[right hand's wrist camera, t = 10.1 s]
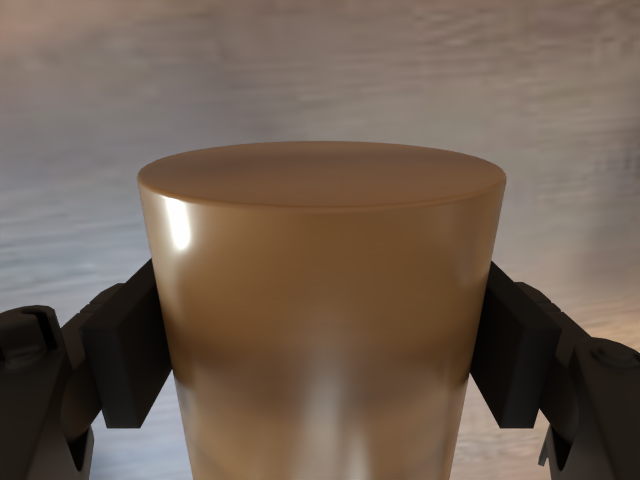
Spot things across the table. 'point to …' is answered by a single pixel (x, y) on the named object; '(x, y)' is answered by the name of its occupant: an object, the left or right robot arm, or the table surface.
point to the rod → (321, 303)
